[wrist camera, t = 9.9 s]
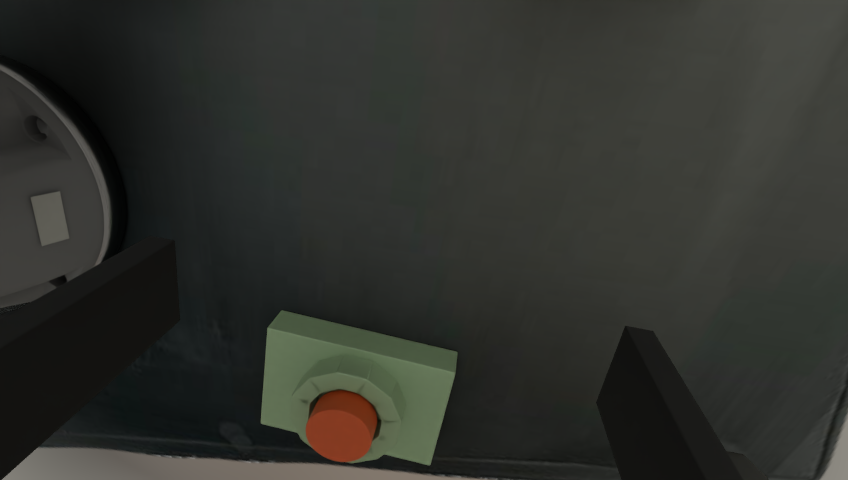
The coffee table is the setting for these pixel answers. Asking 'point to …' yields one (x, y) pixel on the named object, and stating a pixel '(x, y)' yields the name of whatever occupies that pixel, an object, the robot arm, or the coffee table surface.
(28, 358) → the robot arm
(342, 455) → the button
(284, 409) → the button block
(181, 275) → the coffee table surface
